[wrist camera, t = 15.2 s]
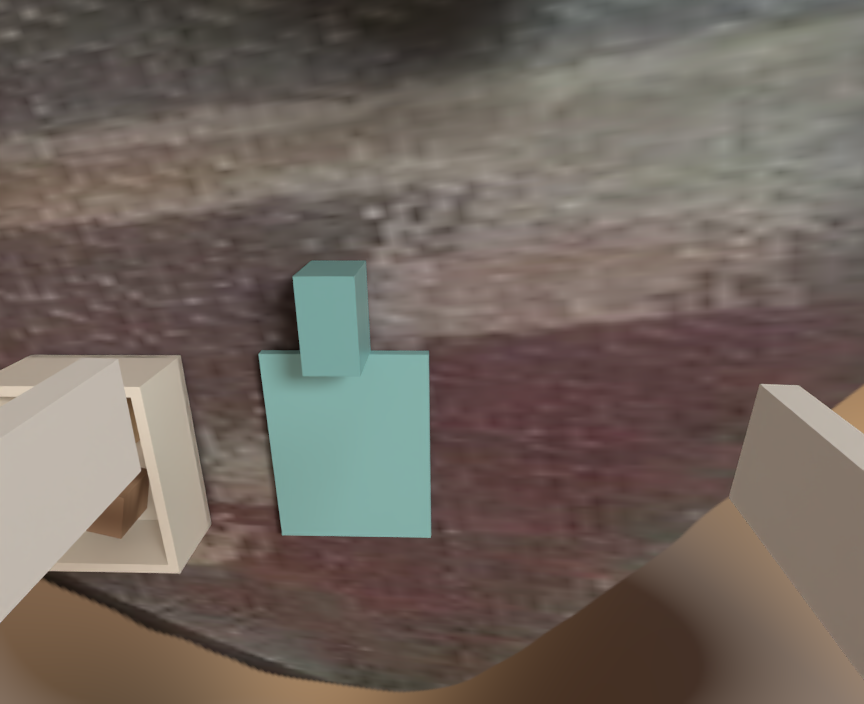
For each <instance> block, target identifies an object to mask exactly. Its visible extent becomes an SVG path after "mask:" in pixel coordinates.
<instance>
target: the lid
mask: <svg viewBox="0 0 864 704" xmlns="http://www.w3.org/2000/svg"><path fill="white" fill-rule="evenodd" d="M293 286H294V295H295V305H296V315H297V325H298V335H299V344H300V350H262V351H261V352H260V353H259V354H258V355H259V362H260V370H261V377H262V385H263V393H264V400H265V408H266V415H267V423H268V431H269V438H270V446H271V453H272V461H273V469H274V476H275V484H276V491H277V499H278V507H279V514H280V522H281V529H282V535H305V536H366V537H427V538H431V480H430V399H429V351H371V348H370V329H369V310H368V291H367V272H366V261H310V262H309V263H308V264H307V265H306V266H304V267H303V268H302V269H301V270H300V271H298V272H297V273H296V274H295V275H294V276H293Z"/></svg>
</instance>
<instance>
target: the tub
mask: <svg viewBox="0 0 864 704" xmlns="http://www.w3.org/2000/svg"><path fill="white" fill-rule="evenodd" d="M81 358H107V359H118V360H119V365H120V370H121V375H122V380H123V385H124V390H125V394H126V397H131V401H132V406H133V410H134V415H135V419H136V423H137V428H138V432H139V437H140V440H139V441H138V442H137V443H136V448H137V453H138V458H139V462H140V467H141V468H145V469H147V473H148V477H149V493H148V505H147V509H146V510H145V511H144V512H143V514H142V515H141V516H140V517H139V518H138V520H137V521H136V522H135V523H134V524H133V526H132V527H131V528H130V529H129V530H128V531H127V533H126V534H125V535H124V536H123V537H122V539H119V538H115V537H110V536H106V535H101V534H97V533H93V532H88V531H85V532H84V533H83V534H82V535H81V536H80V538H79V539H78V540H77V541H76V542H75V543H74V544H73V545H72V546H71V547H70V548H69V549H68V550H67V552H66V553H65V554H64V555H63V556H62V557H61V558H60V559H59V560H58V561H57V562H56V563H55V564H54V566H53V567H52V568H51V569H50V570H49V571H82V572H137V573H181V571H182V570H183V568H184V566H185V565H186V563H187V562H188V560H189V558H190V557H191V555H192V554H193V552H194V551H195V549H196V547H197V546H198V544H199V543H200V541H201V540H202V538H203V536H204V535H205V533H206V532H207V530H208V529H209V527H210V525H211V518H210V513H209V508H208V502H207V497H206V491H205V486H204V480H203V475H202V469H201V464H200V459H199V453H198V448H197V442H196V437H195V431H194V426H193V420H192V415H191V410H190V404H189V399H188V393H187V388H186V382H185V377H184V371H183V366H182V360H181V355H30V356H28V357H26V358H24V359H22V360H20V361H18V362H16V363H14V364H12V365H10V366H8V367H6V368H4V369H2V370H0V407H1V406H3V405H4V404H6V403H8V402H9V401H11V400H13V399H14V398H16V397H18V396H19V395H21V394H23V393H24V392H26V391H28V390H29V389H31V388H33V387H34V386H36V385H38V384H39V383H41V382H42V381H44V380H46V379H47V378H49V377H51V376H52V375H54V374H56V373H57V372H59V371H61V370H62V369H64V368H66V367H67V366H69V365H71V364H72V363H74V362H76V361H77V360H79V359H81Z"/></svg>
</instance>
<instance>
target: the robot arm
mask: <svg viewBox="0 0 864 704" xmlns="http://www.w3.org/2000/svg"><path fill="white" fill-rule="evenodd" d="M140 472H141V467H140V462H139V458H138V453H137V448H136V443H135V438H134V433H133V428H132V424H131V419H130V414H129V409H128V404H127V399H126V394H125V390H124V385H123V380H122V375H121V370H120V365H119V360H118V359H107V358H81V359H79V360H77V361H76V362H74V363H72V364H71V365H69V366H67V367H66V368H64V369H62V370H61V371H59V372H57V373H56V374H54V375H52V376H51V377H49V378H47V379H46V380H44V381H42V382H41V383H39V384H38V385H36V386H34V387H33V388H31V389H29V390H28V391H26V392H24V393H23V394H21V395H19V396H18V397H16V398H14V399H13V400H11V401H9V402H8V403H6V404H4V405H3V406H1V407H0V623H1V621H2V620H3V619H4V618H5V617H6V616H7V615H8V614H9V613H10V612H11V611H12V610H13V608H14V607H15V606H16V605H17V604H18V603H19V602H20V601H21V600H22V599H23V598H24V597H25V596H26V595H27V593H28V592H29V591H30V590H31V589H32V588H33V587H34V586H35V585H36V584H37V583H38V582H39V581H40V579H41V578H42V577H43V576H44V575H45V574H46V573H47V572H48V571H49V570H50V569H51V568H52V567H53V566H54V564H55V563H56V562H57V561H58V560H59V559H60V558H61V557H62V556H63V555H64V554H65V553H66V552H67V550H68V549H69V548H70V547H71V546H72V545H73V544H74V543H75V542H76V541H77V540H78V539H79V538H80V536H81V535H82V534H83V533H84V532H85V531H86V530H87V529H88V528H89V527H90V526H91V525H92V524H93V522H94V521H95V520H96V519H97V518H98V517H99V516H100V515H101V514H102V513H103V512H104V511H105V510H106V508H107V507H108V506H109V505H110V504H111V503H112V502H113V501H114V500H115V499H116V498H117V497H118V496H119V494H120V493H121V492H122V491H123V490H124V489H125V488H126V487H127V486H128V485H129V484H130V483H131V482H132V481H133V479H134V478H135V477H136V476H137V475H138V474H139V473H140ZM729 499H730V500H731V501H732V503H733V504H734V505H735V507H736V508H737V509H738V511H739V512H740V513H741V515H742V516H743V517H744V519H745V520H746V522H747V523H748V524H749V526H750V527H751V528H752V530H753V531H754V532H755V533H756V535H757V536H758V538H759V539H760V540H761V542H762V543H763V544H764V546H765V547H766V548H767V550H768V551H769V553H770V554H771V555H772V557H773V558H774V559H775V561H776V562H777V563H778V565H779V566H780V567H781V569H782V570H783V571H784V573H785V574H786V575H787V577H788V578H789V579H790V581H791V582H792V584H793V585H794V586H795V588H796V589H797V590H798V592H799V593H800V594H801V596H802V597H803V599H804V600H805V601H806V603H807V604H808V605H809V607H810V608H811V609H812V611H813V612H814V613H815V615H816V616H817V617H818V619H819V620H820V621H821V623H822V624H823V626H824V627H825V628H826V630H827V631H828V632H829V633H830V635H831V636H832V638H833V639H834V640H835V642H836V643H837V644H838V646H839V647H840V649H841V650H842V651H843V653H844V654H845V655H846V657H847V658H848V659H849V661H850V662H851V663H852V665H853V666H854V667H855V669H856V670H857V672H858V673H859V674H860V676H861V677H862V678H863V680H864V434H863V433H862V432H860V431H859V430H858V429H856V428H855V427H854V426H852V425H851V424H849V423H848V422H847V421H846V420H844V419H843V418H842V417H840V416H839V415H838V414H836V413H835V412H834V411H832V410H831V409H830V408H828V407H827V406H826V405H824V404H823V403H822V402H820V401H819V400H817V399H816V398H815V397H813V396H812V395H811V394H809V393H808V392H807V391H805V390H804V389H803V388H801V387H800V386H799V385H773V384H760V385H759V389H758V393H757V396H756V400H755V404H754V407H753V411H752V415H751V418H750V422H749V426H748V429H747V433H746V437H745V440H744V444H743V448H742V451H741V455H740V459H739V462H738V466H737V470H736V473H735V477H734V481H733V484H732V488H731V492H730V495H729Z"/></svg>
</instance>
